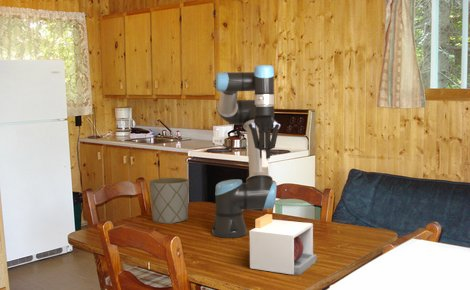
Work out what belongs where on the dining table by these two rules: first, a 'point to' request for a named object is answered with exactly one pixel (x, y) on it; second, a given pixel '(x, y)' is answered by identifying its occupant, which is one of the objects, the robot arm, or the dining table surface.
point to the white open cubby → (277, 243)
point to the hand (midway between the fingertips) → (265, 166)
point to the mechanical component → (298, 248)
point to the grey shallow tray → (304, 263)
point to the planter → (169, 199)
